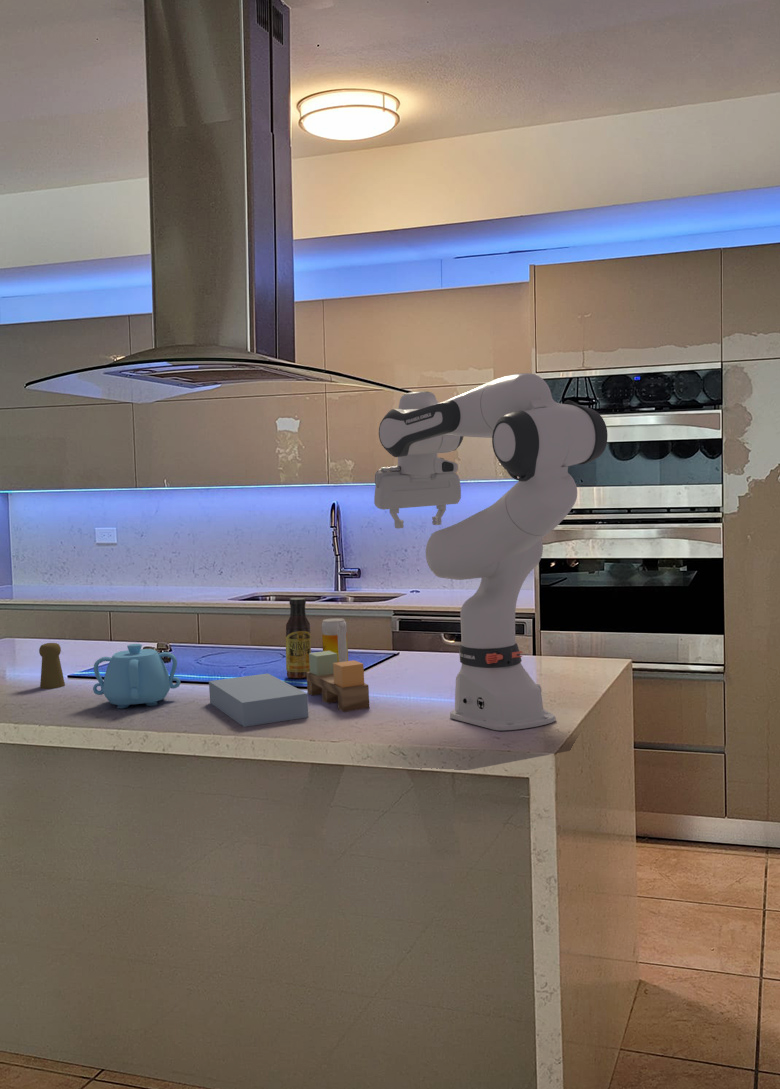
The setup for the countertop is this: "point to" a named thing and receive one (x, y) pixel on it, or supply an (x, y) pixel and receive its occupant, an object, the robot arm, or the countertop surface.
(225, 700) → the block
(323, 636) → the beer can
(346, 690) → the walnut pallet
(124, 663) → the decorative pot
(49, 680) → the cork
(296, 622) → the sauce bottle
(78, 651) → the countertop surface
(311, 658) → the block
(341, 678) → the orange crate
